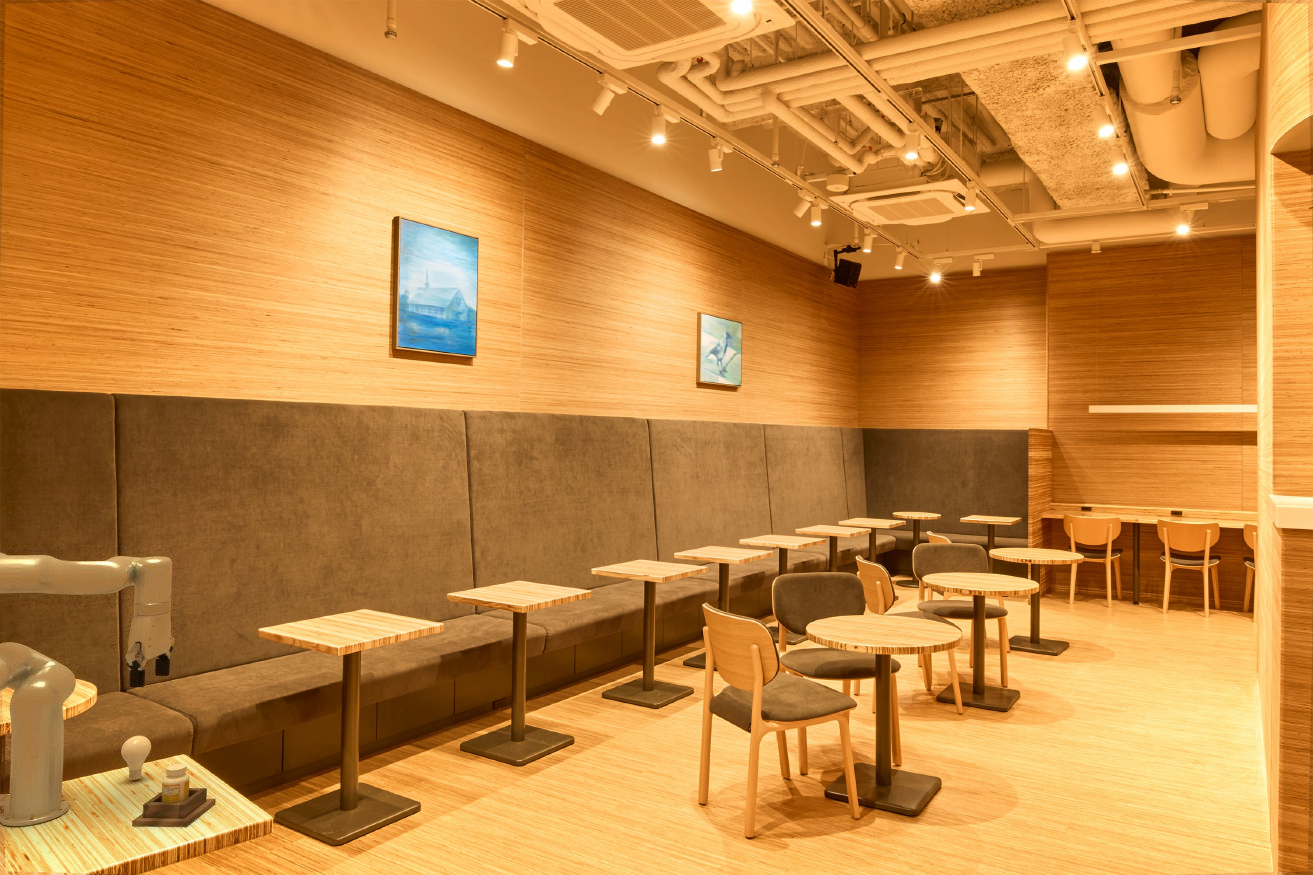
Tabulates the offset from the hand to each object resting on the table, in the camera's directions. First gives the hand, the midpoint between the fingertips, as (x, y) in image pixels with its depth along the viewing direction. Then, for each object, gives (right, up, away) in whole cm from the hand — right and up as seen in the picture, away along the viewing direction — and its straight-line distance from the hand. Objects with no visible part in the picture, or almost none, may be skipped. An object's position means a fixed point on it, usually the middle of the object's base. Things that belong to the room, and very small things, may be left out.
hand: (149, 680), depth 193 cm
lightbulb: (-11, -29, +11) cm, 32 cm away
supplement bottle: (+10, -27, -7) cm, 30 cm away
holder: (+11, -28, -8) cm, 31 cm away
